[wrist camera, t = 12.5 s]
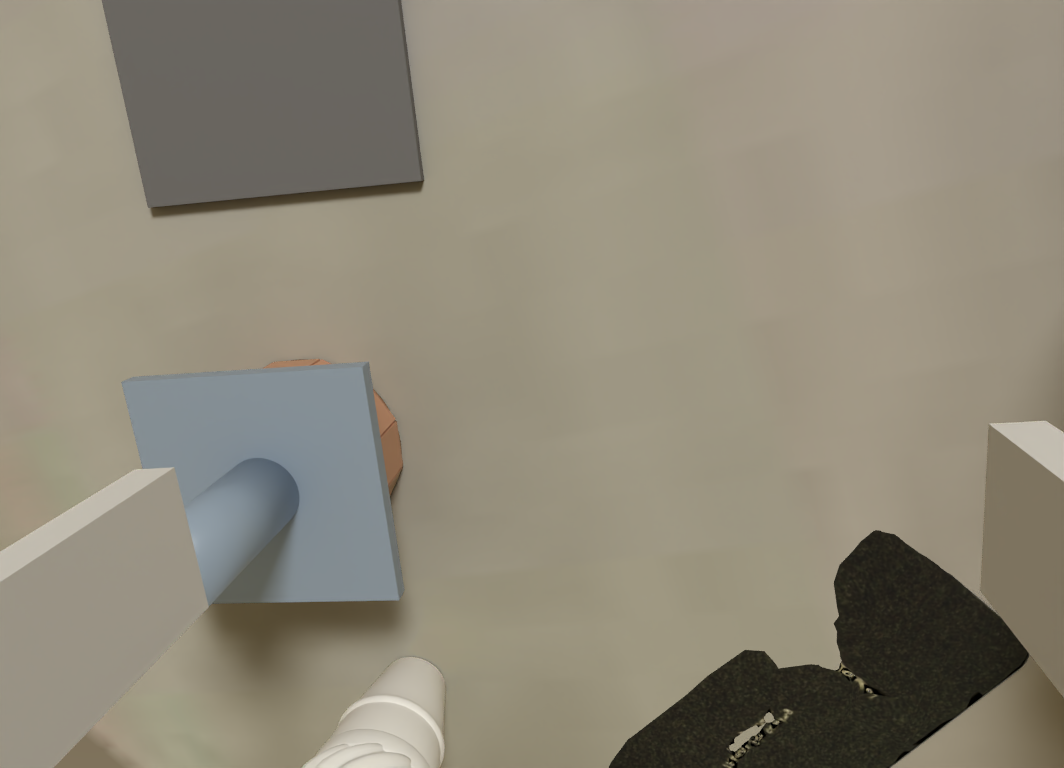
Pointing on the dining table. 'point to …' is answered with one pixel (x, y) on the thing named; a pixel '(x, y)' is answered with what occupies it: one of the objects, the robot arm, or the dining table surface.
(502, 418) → the dining table surface
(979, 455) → the dining table surface
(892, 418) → the dining table surface
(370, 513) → the lid
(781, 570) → the dining table surface
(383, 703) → the soft serve ice cream cone
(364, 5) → the mat
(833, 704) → the black flat irregular plate
